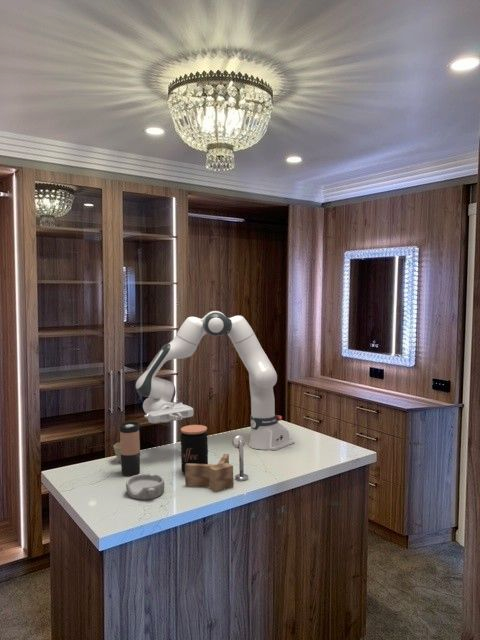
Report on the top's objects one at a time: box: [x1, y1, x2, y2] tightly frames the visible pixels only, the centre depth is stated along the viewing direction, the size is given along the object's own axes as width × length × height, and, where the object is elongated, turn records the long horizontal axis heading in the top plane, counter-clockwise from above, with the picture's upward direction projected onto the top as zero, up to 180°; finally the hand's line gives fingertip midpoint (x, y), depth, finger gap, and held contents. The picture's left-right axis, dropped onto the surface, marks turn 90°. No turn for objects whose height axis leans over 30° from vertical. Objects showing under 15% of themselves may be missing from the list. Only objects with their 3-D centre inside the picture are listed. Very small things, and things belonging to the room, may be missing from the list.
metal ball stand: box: [231, 434, 249, 482], centre depth 187 cm, size 5×5×16 cm
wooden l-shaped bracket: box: [184, 453, 234, 493], centre depth 182 cm, size 20×13×8 cm, turn 125°
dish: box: [125, 473, 165, 500], centre depth 176 cm, size 14×14×5 cm
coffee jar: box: [180, 424, 209, 476], centre depth 194 cm, size 11×11×18 cm
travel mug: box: [119, 421, 141, 478], centre depth 194 cm, size 8×8×20 cm
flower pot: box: [113, 442, 121, 463], centre depth 209 cm, size 10×10×7 cm
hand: (179, 418), depth 203 cm, fingers closed
